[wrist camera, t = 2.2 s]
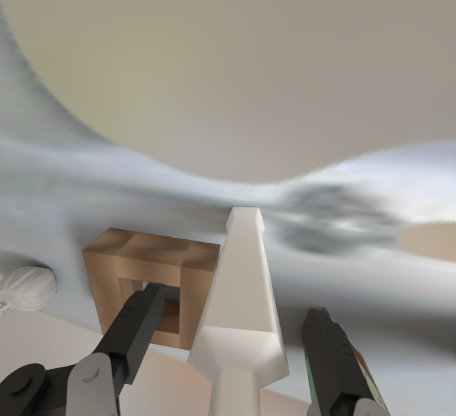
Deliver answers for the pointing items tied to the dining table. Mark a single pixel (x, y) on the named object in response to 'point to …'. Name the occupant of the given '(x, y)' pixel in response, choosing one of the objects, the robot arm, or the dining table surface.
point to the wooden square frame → (152, 279)
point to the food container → (314, 409)
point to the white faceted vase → (240, 322)
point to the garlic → (27, 289)
